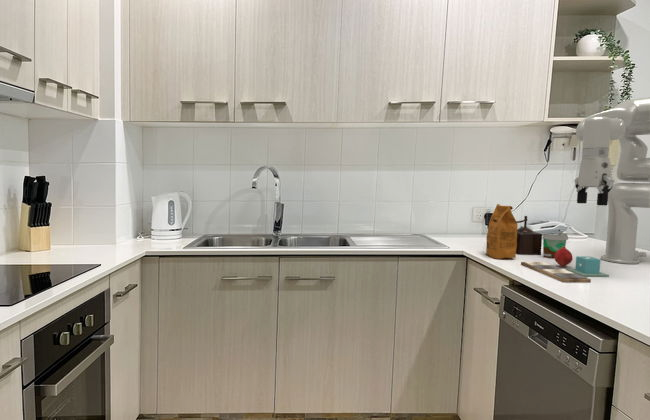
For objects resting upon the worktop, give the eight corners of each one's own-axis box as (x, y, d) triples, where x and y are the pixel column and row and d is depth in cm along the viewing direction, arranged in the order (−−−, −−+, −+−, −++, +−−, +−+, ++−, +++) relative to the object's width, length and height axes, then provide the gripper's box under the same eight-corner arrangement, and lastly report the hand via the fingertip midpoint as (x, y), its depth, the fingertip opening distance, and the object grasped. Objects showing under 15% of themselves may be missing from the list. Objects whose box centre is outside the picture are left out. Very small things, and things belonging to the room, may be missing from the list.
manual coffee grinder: (529, 250, 179) (531, 211, 178) (541, 255, 168) (544, 213, 166) (495, 249, 180) (497, 211, 178) (505, 254, 169) (507, 213, 167)
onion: (550, 265, 149) (551, 244, 148) (564, 265, 149) (565, 244, 148) (560, 268, 143) (562, 247, 142) (575, 268, 143) (576, 247, 143)
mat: (589, 270, 141) (589, 268, 141) (608, 276, 132) (609, 275, 132) (565, 270, 140) (565, 268, 140) (583, 276, 131) (583, 275, 131)
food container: (555, 260, 158) (557, 235, 157) (541, 257, 163) (542, 233, 162) (573, 257, 163) (575, 234, 163) (559, 255, 169) (560, 232, 168)
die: (589, 270, 138) (590, 256, 138) (599, 273, 133) (600, 259, 133) (575, 270, 138) (576, 256, 138) (584, 273, 133) (585, 259, 133)
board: (543, 264, 149) (544, 261, 149) (590, 282, 124) (591, 278, 124) (520, 264, 149) (521, 261, 149) (563, 282, 124) (563, 278, 124)
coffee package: (505, 254, 169) (508, 203, 168) (518, 260, 157) (521, 205, 155) (482, 253, 170) (484, 203, 168) (494, 259, 157) (496, 205, 155)
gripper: (626, 152, 124) (622, 206, 126) (587, 155, 141) (584, 202, 143) (603, 152, 124) (599, 206, 125) (567, 155, 141) (564, 202, 142)
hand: (591, 204), depth 134 cm, fingers open, 9 cm apart
